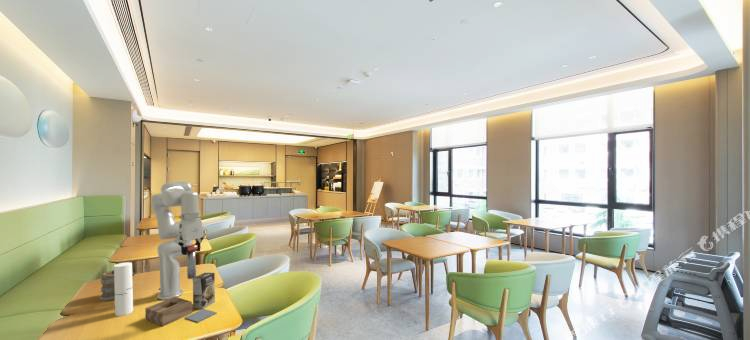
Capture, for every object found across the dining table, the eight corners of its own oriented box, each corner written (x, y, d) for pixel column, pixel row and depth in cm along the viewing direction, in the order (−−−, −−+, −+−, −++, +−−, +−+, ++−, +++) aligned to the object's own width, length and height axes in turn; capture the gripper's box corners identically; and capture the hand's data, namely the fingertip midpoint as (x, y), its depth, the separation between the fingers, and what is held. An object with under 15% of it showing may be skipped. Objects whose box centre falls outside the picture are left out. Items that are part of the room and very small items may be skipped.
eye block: (145, 320, 149) (145, 308, 149) (174, 308, 162) (174, 296, 162) (162, 326, 143) (162, 313, 143) (191, 313, 156) (191, 301, 156)
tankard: (94, 299, 174) (94, 273, 174) (118, 290, 186) (117, 266, 186) (121, 302, 169) (121, 275, 169) (144, 293, 182) (143, 268, 181)
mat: (184, 318, 151) (184, 317, 151) (203, 309, 160) (203, 308, 160) (197, 322, 146) (197, 321, 146) (216, 313, 155) (216, 312, 155)
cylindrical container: (136, 310, 160) (135, 262, 159) (121, 316, 153) (120, 267, 153) (127, 308, 162) (126, 261, 162) (111, 314, 155) (110, 265, 155)
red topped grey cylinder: (189, 280, 148) (188, 247, 148) (182, 278, 151) (181, 246, 151) (201, 276, 154) (200, 244, 154) (193, 274, 156) (193, 243, 156)
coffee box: (203, 309, 160) (202, 278, 160) (192, 308, 162) (192, 277, 161) (215, 301, 169) (215, 272, 169) (205, 300, 170) (204, 271, 170)
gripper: (176, 219, 143) (177, 258, 143) (211, 214, 158) (212, 249, 158) (167, 219, 146) (168, 256, 146) (202, 213, 162) (202, 247, 162)
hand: (191, 252), depth 152 cm, fingers closed on red topped grey cylinder, 6 cm apart
